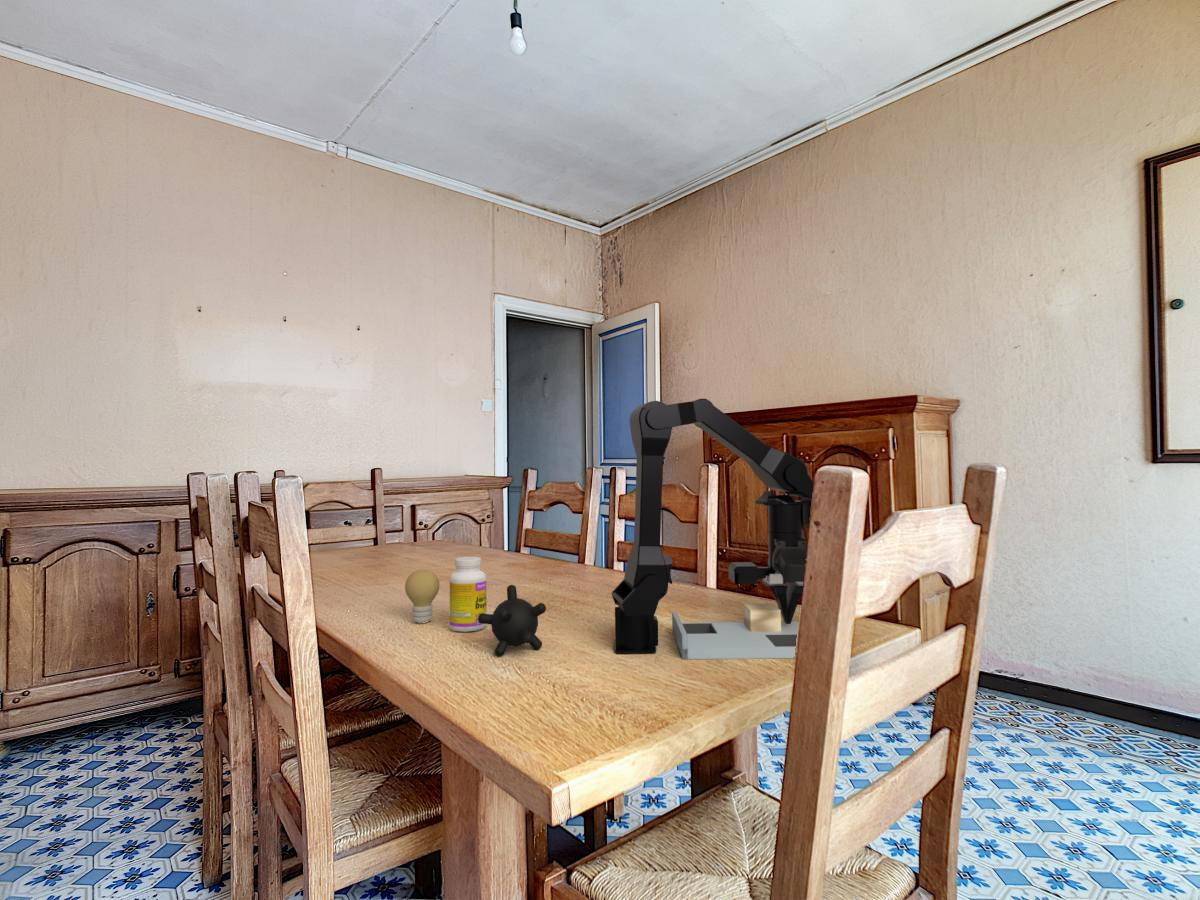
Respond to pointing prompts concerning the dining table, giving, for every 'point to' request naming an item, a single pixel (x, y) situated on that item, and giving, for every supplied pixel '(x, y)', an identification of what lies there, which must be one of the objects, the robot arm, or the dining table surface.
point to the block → (762, 617)
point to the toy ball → (514, 622)
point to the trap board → (732, 640)
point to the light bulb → (422, 593)
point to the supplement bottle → (467, 595)
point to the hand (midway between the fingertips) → (787, 623)
